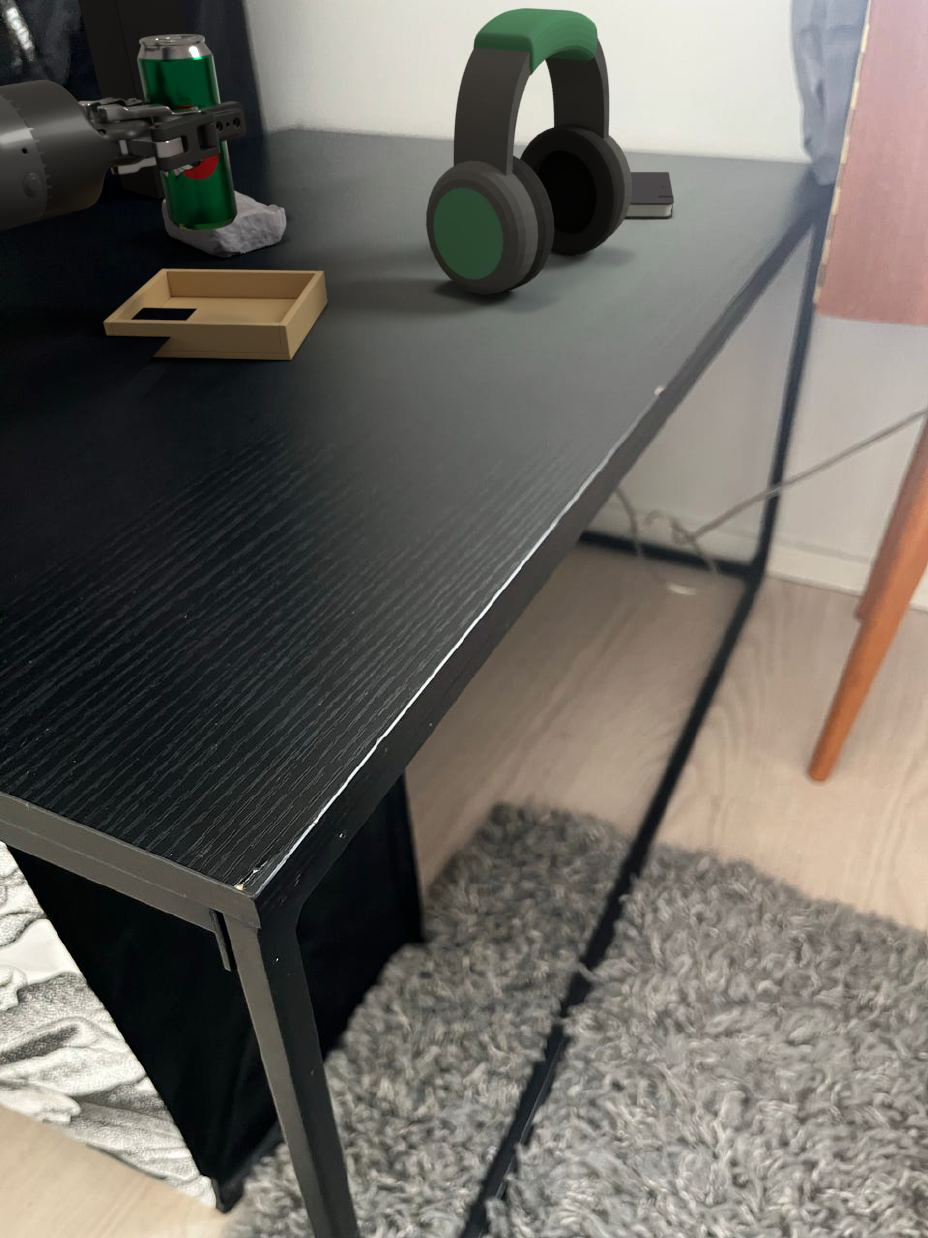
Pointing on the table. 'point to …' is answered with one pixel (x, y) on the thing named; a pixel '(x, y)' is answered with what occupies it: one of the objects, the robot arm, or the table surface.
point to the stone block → (236, 229)
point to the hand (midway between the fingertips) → (213, 114)
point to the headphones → (528, 156)
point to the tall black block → (128, 58)
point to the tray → (227, 312)
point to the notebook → (651, 195)
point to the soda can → (180, 81)
